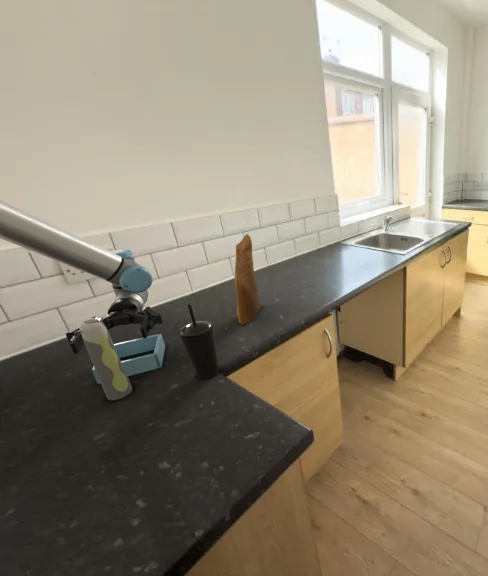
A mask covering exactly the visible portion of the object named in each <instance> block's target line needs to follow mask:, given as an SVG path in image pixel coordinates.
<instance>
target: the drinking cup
mask: <svg viewBox="0 0 488 576" xmlns="http://www.w3.org/2000/svg"><path fill="white" fill-rule="evenodd" d="M187 307H188V311H189V316H190V319H191V322H189V323H188V324H186V325H184V326H182V327H181V328H179V329H178V331H177V335H178V336H179V337H180V339H181V341H182V343H183V346H184V347H185V350H186V352H187V355H188V358H189V360H190V361H191V364H192V366H193V368H194V370H195V373H196V375H197V377H198V379H200V380H208V379H211V378H214V377H215V376H216V375H218V374H219V372H220V371H219V370H220V368H219V363H218V356H217V355H218V354H217V349H216V341H215V335H214V334H215V333H214V323H213V322H212V321H208V320H197V321H196V318H195V314H194V310H193V307H192V304H191V303H189V304H187Z"/></svg>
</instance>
